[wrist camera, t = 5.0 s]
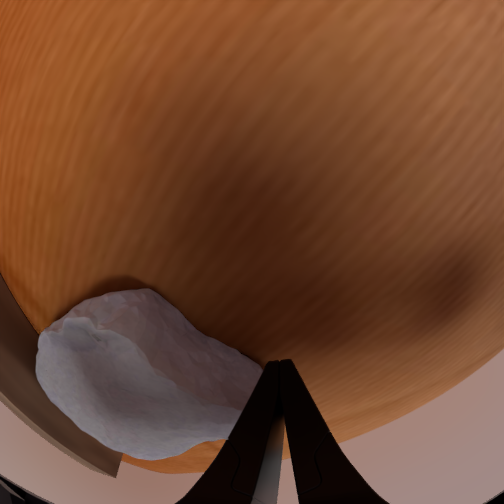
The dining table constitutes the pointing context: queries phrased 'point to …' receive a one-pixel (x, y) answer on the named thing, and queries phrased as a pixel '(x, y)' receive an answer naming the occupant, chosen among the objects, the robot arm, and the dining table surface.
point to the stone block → (142, 375)
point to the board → (41, 393)
